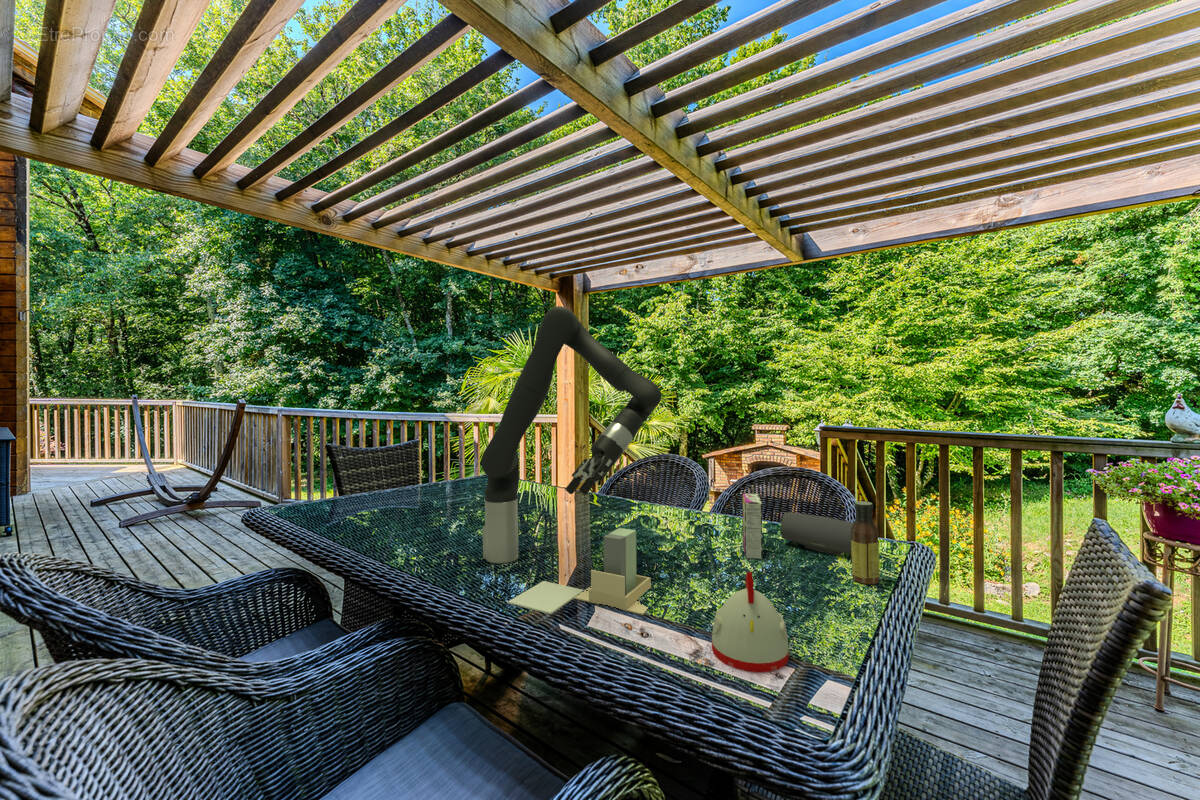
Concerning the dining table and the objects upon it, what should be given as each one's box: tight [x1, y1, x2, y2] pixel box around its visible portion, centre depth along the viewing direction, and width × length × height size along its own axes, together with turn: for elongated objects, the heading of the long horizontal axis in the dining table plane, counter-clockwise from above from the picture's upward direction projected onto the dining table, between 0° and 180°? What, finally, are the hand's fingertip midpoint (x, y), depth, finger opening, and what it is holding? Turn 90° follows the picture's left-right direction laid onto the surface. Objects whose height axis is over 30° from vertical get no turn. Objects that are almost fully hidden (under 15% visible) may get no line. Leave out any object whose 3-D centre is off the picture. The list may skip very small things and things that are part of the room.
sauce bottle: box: [850, 500, 881, 585], centre depth 132 cm, size 7×6×20 cm
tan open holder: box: [573, 569, 652, 616], centre depth 127 cm, size 18×17×8 cm
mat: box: [507, 580, 585, 615], centre depth 125 cm, size 12×14×1 cm
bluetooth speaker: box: [779, 512, 854, 556], centre depth 156 cm, size 23×9×10 cm, turn 47°
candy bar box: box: [741, 492, 763, 560], centre depth 154 cm, size 11×5×16 cm, turn 168°
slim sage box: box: [603, 527, 637, 596], centre depth 125 cm, size 4×8×15 cm, turn 150°
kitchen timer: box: [711, 571, 789, 673], centre depth 99 cm, size 14×14×15 cm
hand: (574, 492), depth 131 cm, fingers open, 8 cm apart
